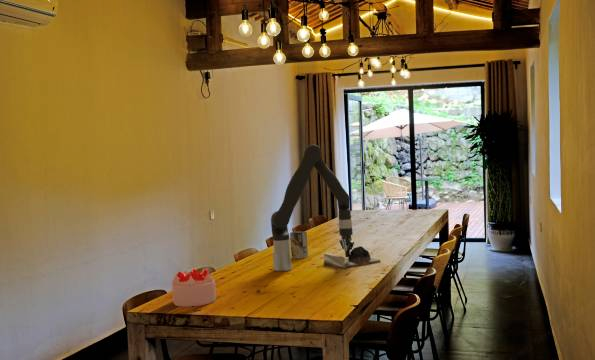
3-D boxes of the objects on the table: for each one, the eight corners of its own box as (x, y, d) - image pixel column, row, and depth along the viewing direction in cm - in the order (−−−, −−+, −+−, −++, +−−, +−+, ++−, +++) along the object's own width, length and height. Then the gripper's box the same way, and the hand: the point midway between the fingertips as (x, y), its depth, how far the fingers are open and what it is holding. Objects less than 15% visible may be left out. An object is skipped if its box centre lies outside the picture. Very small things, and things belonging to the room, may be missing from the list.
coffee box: (308, 256, 382) (307, 231, 381) (304, 258, 377) (302, 232, 376) (295, 256, 386) (294, 231, 386) (291, 258, 381) (289, 232, 380)
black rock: (355, 260, 362) (352, 244, 361) (375, 258, 355) (372, 242, 354) (345, 266, 350) (342, 249, 350) (367, 265, 343) (363, 247, 343)
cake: (218, 295, 293) (215, 266, 292) (213, 305, 273) (211, 274, 272) (177, 298, 292) (175, 269, 292) (170, 309, 272) (167, 277, 272)
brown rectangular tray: (361, 257, 365) (360, 247, 365) (380, 261, 348) (379, 251, 347) (323, 263, 354) (322, 253, 353) (341, 268, 336) (340, 257, 336)
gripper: (334, 227, 353) (336, 256, 353) (346, 228, 341) (348, 259, 342) (345, 225, 356) (347, 254, 357) (357, 227, 344) (359, 257, 345)
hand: (347, 256), depth 349 cm, fingers closed
